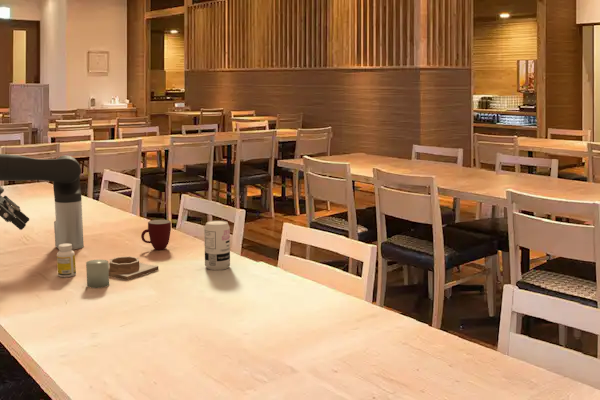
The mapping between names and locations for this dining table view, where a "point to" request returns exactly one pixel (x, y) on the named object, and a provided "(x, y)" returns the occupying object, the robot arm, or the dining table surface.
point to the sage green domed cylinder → (97, 273)
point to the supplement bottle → (66, 261)
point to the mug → (158, 233)
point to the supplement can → (217, 245)
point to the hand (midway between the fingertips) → (25, 224)
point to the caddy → (129, 268)
